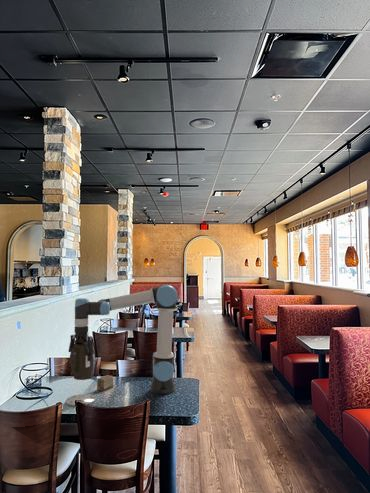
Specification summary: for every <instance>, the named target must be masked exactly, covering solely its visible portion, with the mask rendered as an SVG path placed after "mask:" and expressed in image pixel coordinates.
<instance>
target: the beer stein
mask: <svg viewBox="0 0 370 493" xmlns="http://www.w3.org/2000/svg"><path fill="white" fill-rule="evenodd" d="M74 344H75V343H74ZM87 346H88V344H87ZM74 353H75V356H74ZM86 355H87V353H86V351H85V347H84V345H83V344H82V343H81V342H80V343H79V344H75V349H74V348H72V349H71V352H70V354H69V358H68V359H69V365H70V366H69V367H70V369H71V372H70V376H73V379H74V380H75V381H76V380H77V381H85V380H90V379H92V378H93V377H94V373H93V372H94V354H92V355H91V361H90V367H87V368H86ZM73 356H74V363H73Z"/></svg>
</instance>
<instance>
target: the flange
mask: <svg viewBox="0 0 370 493" xmlns="http://www.w3.org/2000/svg"><path fill="white" fill-rule="evenodd" d="M75 400H81V401H82V402H83V403H86V404H89V405H91V404H90V403H92V402H94V401H95V402H96V396H95V395H93V394H89V393H83V394H75V395H71V396H69V397H68V398H66V400H65V404H66V403H67V404H68V405H67V404H66V405H67V406H69V405H72V406H71V407H76V406H75ZM95 402H94V403H95ZM92 404H93V403H92Z"/></svg>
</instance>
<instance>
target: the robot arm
mask: <svg viewBox="0 0 370 493" xmlns="http://www.w3.org/2000/svg"><path fill="white" fill-rule="evenodd" d="M177 300H178V291H177V290H176V287H174V286H172V285H171V284H167V283H164V284H161V285H159V286H155V287H152V288H150V289H149V290H143V291H140V292H135V293H129V294H123V295H119V296H114V297H110V298H102V299H99V300H98V301H90V300H89V298H87V297H86V298H85V297H84V298H83V297H82V298H79V297H78V298H76V299H75V300H74V334H71V335H70V342H69V346H68V353H71V349H72V348H74V349H75V344H79V343H80V342H81V343H82V344H83V345H84V347H85V351H86V353H87V355H86V368H87V367H90V361H91V355H92V354H93V355H94V354H95V350H94V343H93V336H92V335H90V336H89V335H88V334H89V316H109V315H110V312H111V311H116V310H121V309H126V308H132V307H135V306H140V305H146V304H152V303H153V304H156V305H155V308H156V310H157V311H158V318H157V333H156V334H157V336H156V338H157V339H156V341H157V342H156V351H155V352H153V353H152V380H151V384H150V387H149V390H150V392H151V393H152V394H154V395H155V394H156V395H166V394H172V393H174V392H175V391H176V385H175V383H174V379H173V376H174V374H175V367H174V362H175V359H174V358H175V355H174V354H173V353H172V349H173V348H172V347H173V346H172V345H173V328H174V327H173V326H174V311H175V310H176V309H177ZM87 344H88V346H87ZM74 356H75V353H74ZM74 356H73V363H74Z"/></svg>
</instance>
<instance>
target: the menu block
mask: <svg viewBox="0 0 370 493" xmlns="http://www.w3.org/2000/svg"><path fill="white" fill-rule="evenodd" d="M96 379H97V380H96V389H97V390H96V391H98V390H100V391H99V392H103V391H104V392H106V391H108V390H110V388H111V389H113V388H114V375H110V374H107V375H103V376H101V377H98V378H96ZM105 390H106V391H105Z"/></svg>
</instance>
